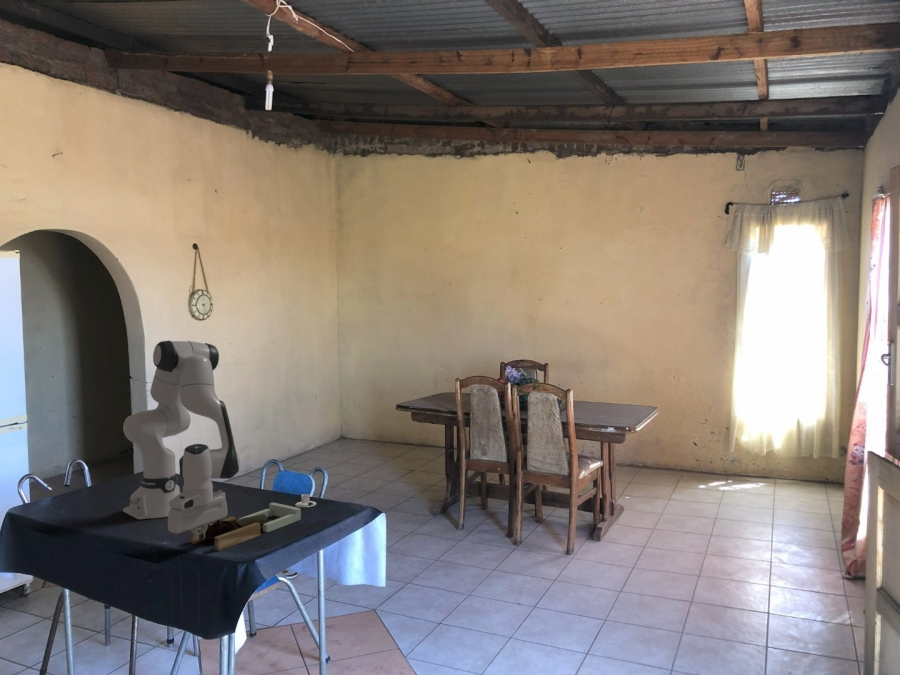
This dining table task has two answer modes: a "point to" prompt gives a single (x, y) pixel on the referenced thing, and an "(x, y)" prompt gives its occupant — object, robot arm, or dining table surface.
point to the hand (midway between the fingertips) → (199, 539)
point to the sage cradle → (283, 511)
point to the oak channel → (232, 535)
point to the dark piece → (232, 525)
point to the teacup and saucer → (305, 501)
